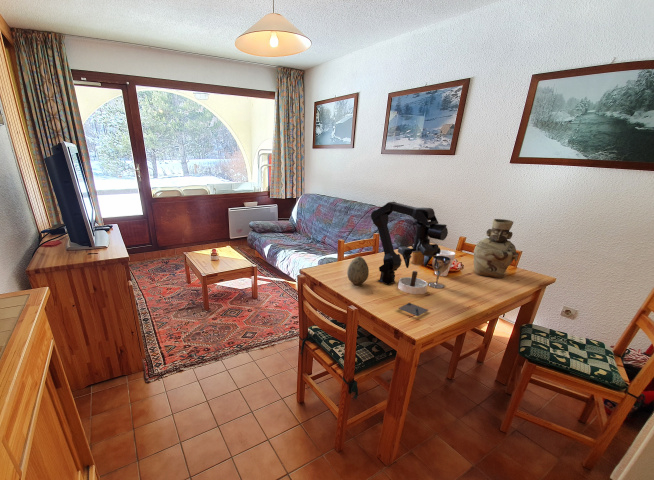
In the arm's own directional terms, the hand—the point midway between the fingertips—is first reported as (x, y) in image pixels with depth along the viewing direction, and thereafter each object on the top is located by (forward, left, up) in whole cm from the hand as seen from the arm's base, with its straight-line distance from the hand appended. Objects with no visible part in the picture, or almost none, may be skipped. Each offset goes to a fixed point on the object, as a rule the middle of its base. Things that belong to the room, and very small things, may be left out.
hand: (416, 267), depth 149 cm
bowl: (0, 0, -13) cm, 13 cm away
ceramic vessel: (+14, +59, -13) cm, 62 cm away
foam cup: (-2, +35, -13) cm, 37 cm away
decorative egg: (-23, -14, -13) cm, 30 cm away
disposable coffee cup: (-20, +42, -13) cm, 48 cm away
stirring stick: (0, 0, -12) cm, 12 cm away
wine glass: (+4, +17, -13) cm, 22 cm away
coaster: (+12, -20, -13) cm, 27 cm away
